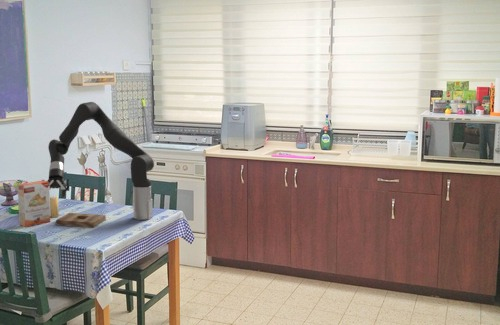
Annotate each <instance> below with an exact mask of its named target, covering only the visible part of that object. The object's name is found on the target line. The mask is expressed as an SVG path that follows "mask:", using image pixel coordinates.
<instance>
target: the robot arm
mask: <svg viewBox="0 0 500 325" xmlns="http://www.w3.org/2000/svg"><path fill="white" fill-rule="evenodd" d="M90 120H93V121H95V123H96V124H98V125H99V127H100V129H101V132H102V135H103V137H104V138H105V140H106V141H107V142H108V143H109V145H111V146H112V147H113V148H114V149H116V150H118V151H120V152H122V153H123V154H126V155H128V156H129V157H130V158H132V159H131V161H130V178H131V181H132V196H133V197H132V199H133V200H132V201H133V203H132V204H133V206H132V207H133V209H132V210H133V213H132V214H133V219H134V220H138V221H140V220H141V221H144V220H150V219H151V218H152V217H153V210H154V209H153V208H154V207H153V204H154V202H153V198H152V180H151V179H149V178H148V174H147V172H150V171H152V170H153V169H154V167H155V162H154V159H153V157H152V156H151V155H149V153H147V152H146V151H144V149H142V148H141V147H139V146H138V145H137V144H136V143H135V142H134V141H133V140H132V139H131V138H130V137H129V136H128V135H127V134H126V133H125V132H124V131H123V130H122V129H121V128H120V127H119V126H118V125H117V124H116V123H114V122H113V120H112V119H110V117H109V116H108V115H107V114H106V112H105V111H104V110H103V108H101V107H100V105H99V104H97V103H96V102H94V101H88V102H82V103H80V104H79V105H78V106H77V107H76V109H75V111H74V112H73V115H72V116H71V119H70V121H69V123H67V125H66V127H65V128H64V130H63V131H62V132H61V133H60V134H59V136H58V137H59V138H58V139H51V140H50V141H49V142H48V147H47V148H48V152H49V157H50V165H49V169H48V170H49V171H48V180H47V181H48V182H49V191H50V190H51V189H60V190H61V191H62V192H61V193H62V194H61V195H62V196H61V197H62V199H64V198H65V197H66V192H69V191H70V179H68V178H67V179H65V180H64V175H65V157H64V155H66V154H67V153H68V152H69V150H70V149H69V148H70V146H71V143H72V142H73V141H74V140H75V138H76V137H77V136H78V133H79V129H80V126H81V125H83V123H85V122H86V121H90ZM64 184H65V185H66V187H65V186H64Z"/></svg>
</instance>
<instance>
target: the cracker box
mask: <svg viewBox="0 0 500 325" xmlns="http://www.w3.org/2000/svg"><path fill="white" fill-rule="evenodd" d="M50 198H51V196H50V190H49V182H48V180H45V179H41V180H35V181H30V182H23V183H19V184H17V199H18V200H17V201H18V205H17V206H18V222H19V223H18V224H19V226H21V227H23V228H28V227H31V226H32V227H33V226H36V225H42V224H46V223H50V222H51V215H50Z"/></svg>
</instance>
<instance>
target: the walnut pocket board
mask: <svg viewBox="0 0 500 325" xmlns="http://www.w3.org/2000/svg"><path fill="white" fill-rule="evenodd" d="M106 220H107V219H106V215H105V214H93V213H91V214H90V213H77V212H75V213H74V212H68V213H66V214H64V215H63V216H61V217H59V218H57V219H55V225H56V226H68V227H69V226H70V227H81V228H96V227H97V226H99V225H100V224H102V223H103V222H105V221H106Z"/></svg>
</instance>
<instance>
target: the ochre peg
mask: <svg viewBox="0 0 500 325" xmlns="http://www.w3.org/2000/svg"><path fill="white" fill-rule="evenodd" d="M58 217H59V197H57V196H50V218H55V219H56V218H58ZM59 218H60V217H59Z"/></svg>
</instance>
